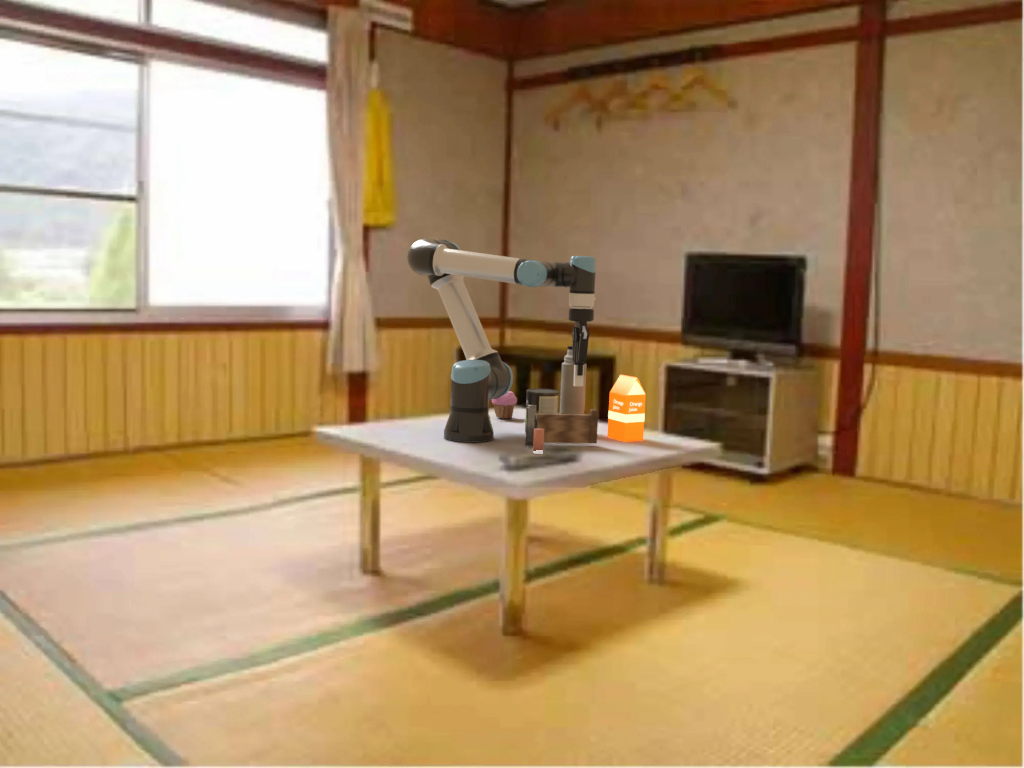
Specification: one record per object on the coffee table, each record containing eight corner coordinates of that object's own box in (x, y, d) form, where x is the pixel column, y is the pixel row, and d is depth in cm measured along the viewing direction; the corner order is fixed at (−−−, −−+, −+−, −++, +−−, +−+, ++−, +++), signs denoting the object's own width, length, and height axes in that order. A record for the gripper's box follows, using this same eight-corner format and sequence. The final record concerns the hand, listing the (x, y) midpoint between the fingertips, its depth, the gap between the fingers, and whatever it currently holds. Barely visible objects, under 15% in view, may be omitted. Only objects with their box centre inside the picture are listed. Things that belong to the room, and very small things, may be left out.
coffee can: (521, 435, 294) (523, 391, 293) (528, 430, 304) (530, 387, 303) (553, 438, 292) (555, 393, 291) (559, 433, 302) (561, 389, 300)
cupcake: (520, 419, 327) (521, 391, 326) (498, 420, 322) (499, 391, 321) (507, 415, 334) (508, 388, 333) (486, 416, 330) (487, 388, 329)
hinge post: (526, 446, 277) (527, 405, 276) (524, 444, 280) (526, 404, 278) (535, 446, 277) (537, 406, 276) (533, 444, 280) (535, 404, 279)
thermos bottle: (559, 429, 309) (563, 344, 306) (583, 430, 309) (587, 345, 305) (558, 433, 301) (562, 346, 298) (583, 434, 301) (587, 347, 297)
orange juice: (624, 441, 291) (627, 377, 289) (606, 437, 298) (610, 374, 296) (643, 440, 295) (647, 377, 293) (626, 435, 303) (629, 373, 300)
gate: (537, 442, 278) (538, 409, 276) (536, 441, 280) (537, 408, 279) (596, 443, 281) (598, 410, 279) (594, 442, 283) (596, 409, 282)
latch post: (533, 454, 265) (534, 430, 264) (531, 452, 268) (532, 428, 267) (544, 454, 265) (545, 430, 264) (542, 452, 268) (543, 428, 267)
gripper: (599, 309, 276) (595, 388, 279) (588, 307, 289) (585, 383, 292) (574, 308, 275) (571, 388, 278) (564, 306, 288) (561, 383, 290)
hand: (578, 385), depth 285 cm, fingers closed
